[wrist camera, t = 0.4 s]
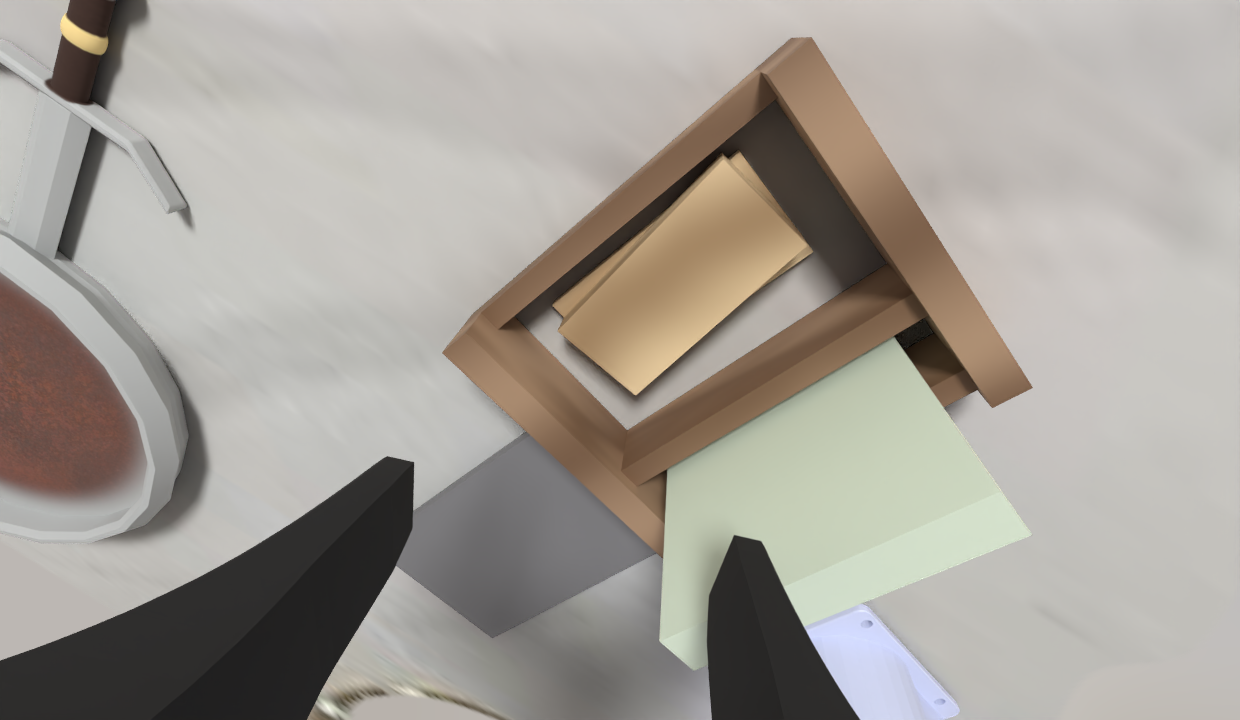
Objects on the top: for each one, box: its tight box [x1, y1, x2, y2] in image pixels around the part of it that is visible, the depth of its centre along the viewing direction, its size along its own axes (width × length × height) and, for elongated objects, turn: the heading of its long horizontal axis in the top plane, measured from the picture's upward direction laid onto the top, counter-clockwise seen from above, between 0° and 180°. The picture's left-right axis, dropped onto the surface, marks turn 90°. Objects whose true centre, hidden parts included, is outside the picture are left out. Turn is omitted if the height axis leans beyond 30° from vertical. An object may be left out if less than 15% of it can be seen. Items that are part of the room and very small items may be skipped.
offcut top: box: [558, 152, 807, 396], centre depth 19 cm, size 4×8×1 cm, turn 138°
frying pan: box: [0, 0, 189, 544], centre depth 22 cm, size 17×3×28 cm
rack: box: [442, 37, 1033, 558], centre depth 19 cm, size 12×14×3 cm
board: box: [659, 336, 1032, 671], centre depth 18 cm, size 2×9×9 cm, turn 131°
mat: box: [396, 432, 656, 638], centre depth 26 cm, size 8×11×1 cm
